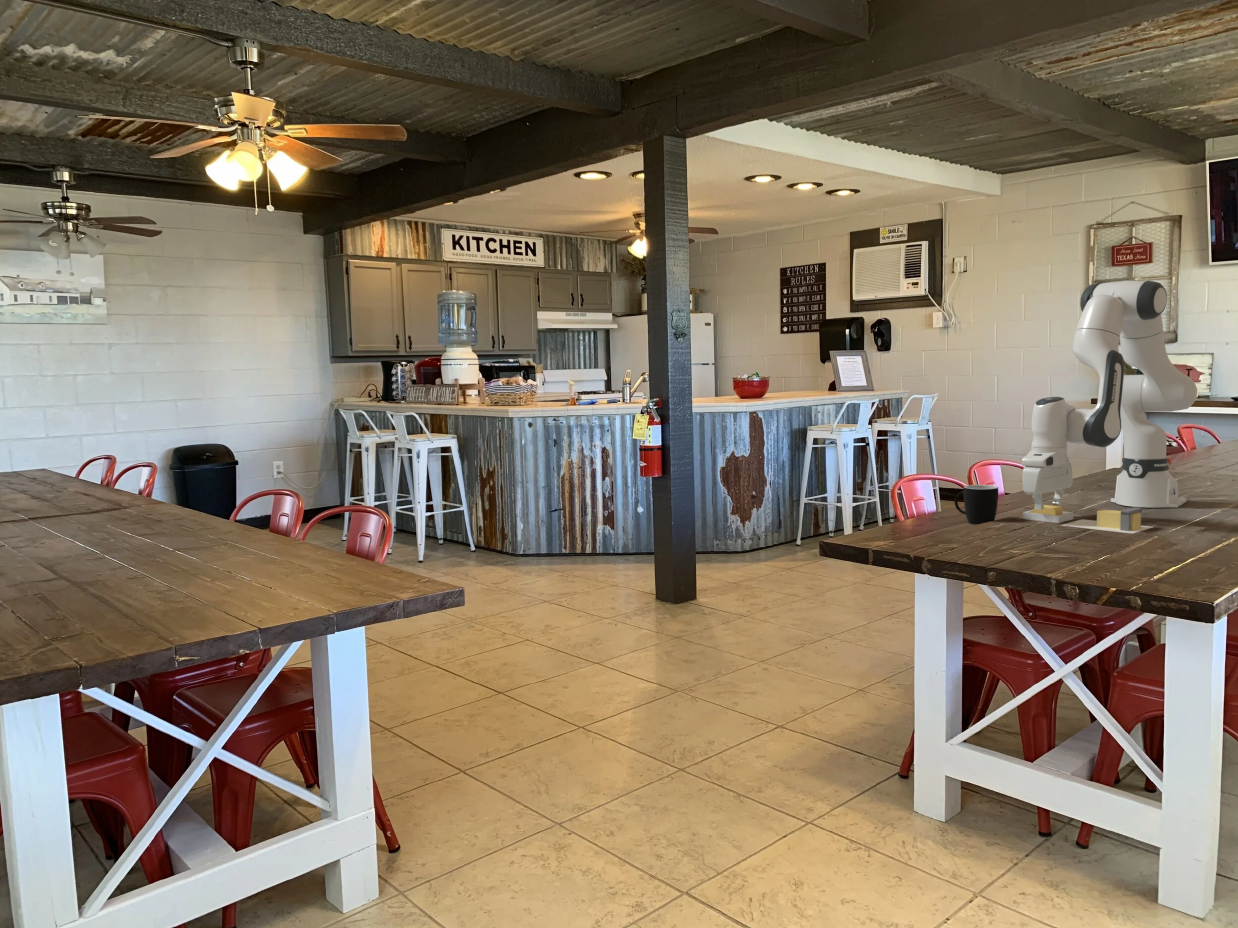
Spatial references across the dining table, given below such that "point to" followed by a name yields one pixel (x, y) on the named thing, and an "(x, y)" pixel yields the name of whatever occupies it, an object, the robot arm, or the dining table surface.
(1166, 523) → the dining table surface
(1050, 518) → the stub tray
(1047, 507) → the stub
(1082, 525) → the board
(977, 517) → the mug
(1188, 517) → the dining table surface
